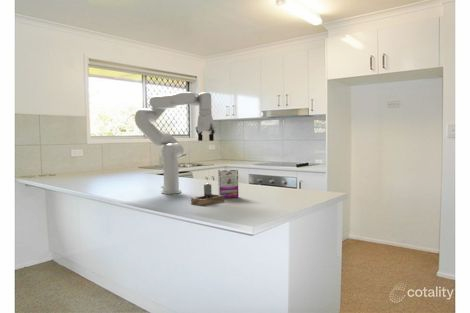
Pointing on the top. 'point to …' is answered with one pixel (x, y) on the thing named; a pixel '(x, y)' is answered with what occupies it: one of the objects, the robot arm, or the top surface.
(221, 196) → the tray
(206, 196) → the battery cell
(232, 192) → the candy bar box
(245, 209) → the top surface
